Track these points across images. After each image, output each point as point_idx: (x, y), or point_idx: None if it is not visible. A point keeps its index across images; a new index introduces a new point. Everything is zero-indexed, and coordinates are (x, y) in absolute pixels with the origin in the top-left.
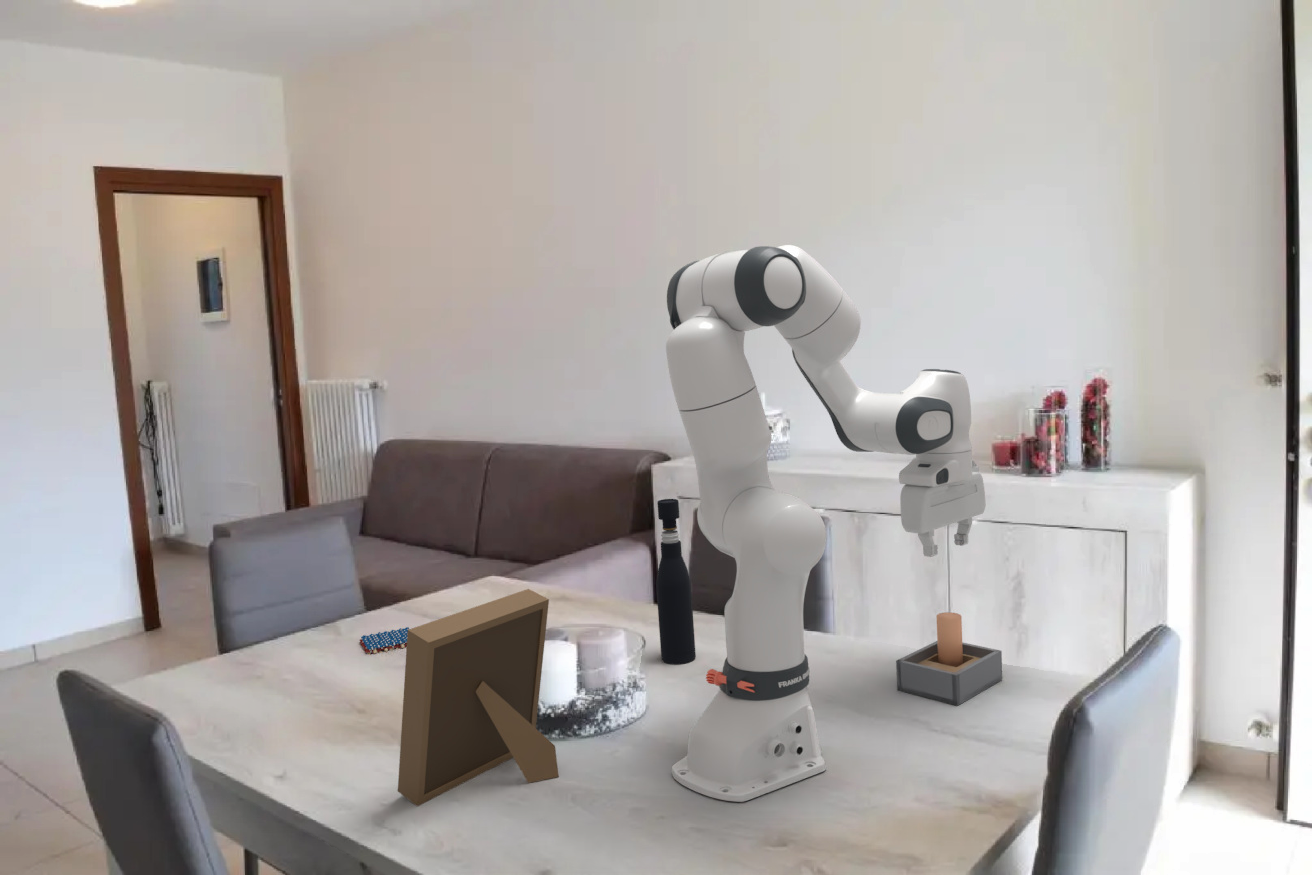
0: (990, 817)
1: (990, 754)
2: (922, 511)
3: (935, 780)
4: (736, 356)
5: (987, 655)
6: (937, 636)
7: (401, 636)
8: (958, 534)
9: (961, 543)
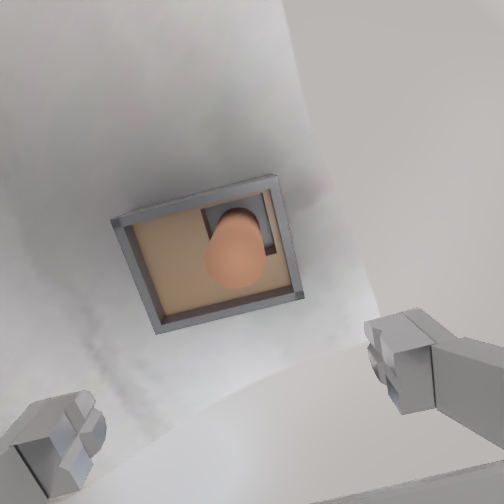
0: None
1: (106, 421)
2: None
3: None
4: None
5: (267, 300)
6: (213, 233)
7: None
8: (413, 370)
9: (373, 363)
